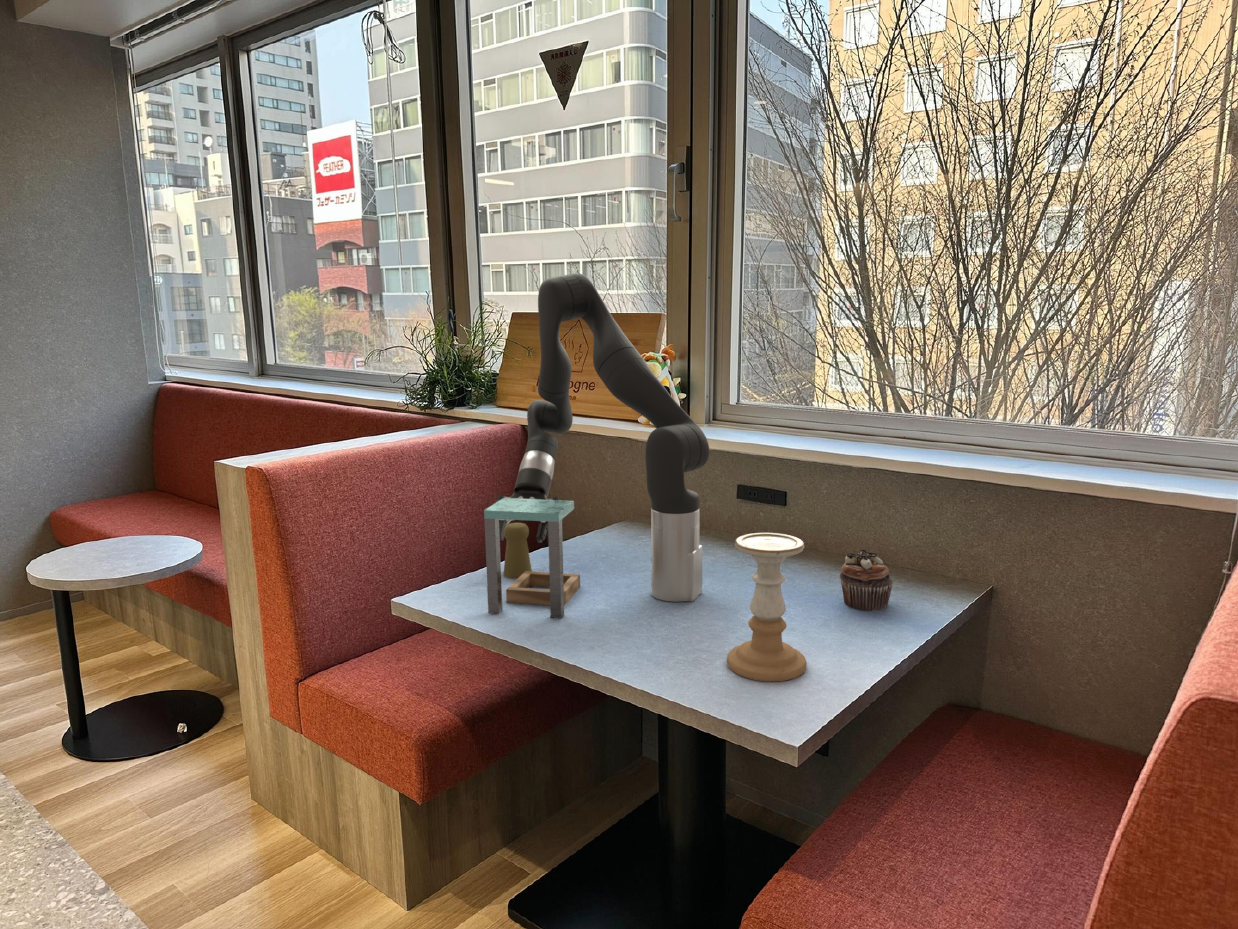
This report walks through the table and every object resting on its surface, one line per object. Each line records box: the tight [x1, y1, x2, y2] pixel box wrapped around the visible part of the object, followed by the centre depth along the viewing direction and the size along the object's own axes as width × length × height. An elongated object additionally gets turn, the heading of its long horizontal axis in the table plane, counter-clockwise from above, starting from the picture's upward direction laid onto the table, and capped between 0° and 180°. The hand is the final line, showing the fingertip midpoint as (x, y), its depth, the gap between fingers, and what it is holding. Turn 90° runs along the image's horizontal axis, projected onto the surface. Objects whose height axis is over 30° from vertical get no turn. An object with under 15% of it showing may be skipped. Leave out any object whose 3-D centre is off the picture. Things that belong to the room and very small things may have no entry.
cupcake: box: [839, 549, 894, 612], centre depth 159 cm, size 10×10×10 cm
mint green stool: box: [483, 498, 575, 619], centre depth 158 cm, size 10×14×20 cm
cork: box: [503, 522, 533, 580], centre depth 178 cm, size 6×6×11 cm
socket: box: [505, 570, 581, 607], centre depth 167 cm, size 12×12×2 cm
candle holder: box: [726, 532, 808, 682], centre depth 131 cm, size 12×12×20 cm
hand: (519, 539), depth 179 cm, fingers open, 8 cm apart
